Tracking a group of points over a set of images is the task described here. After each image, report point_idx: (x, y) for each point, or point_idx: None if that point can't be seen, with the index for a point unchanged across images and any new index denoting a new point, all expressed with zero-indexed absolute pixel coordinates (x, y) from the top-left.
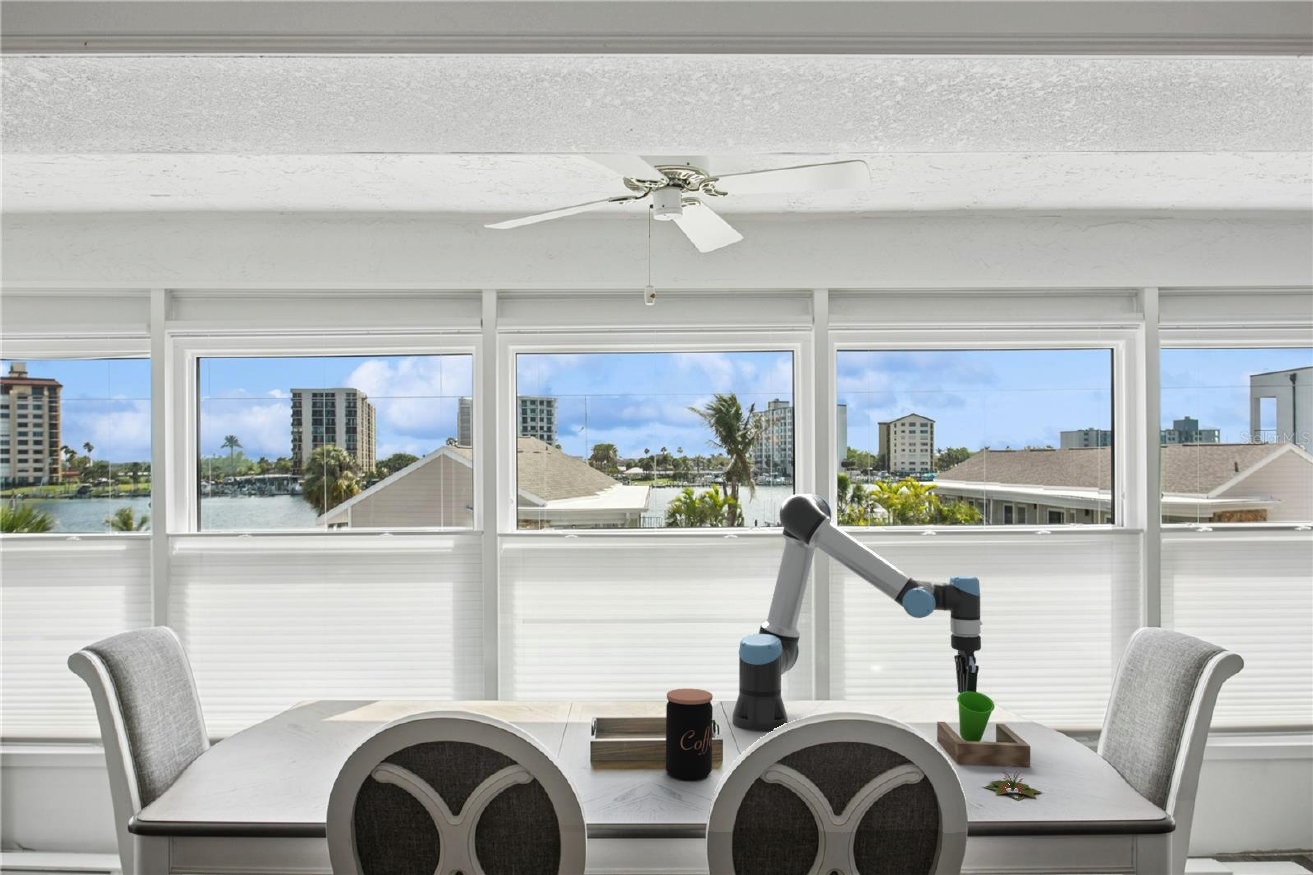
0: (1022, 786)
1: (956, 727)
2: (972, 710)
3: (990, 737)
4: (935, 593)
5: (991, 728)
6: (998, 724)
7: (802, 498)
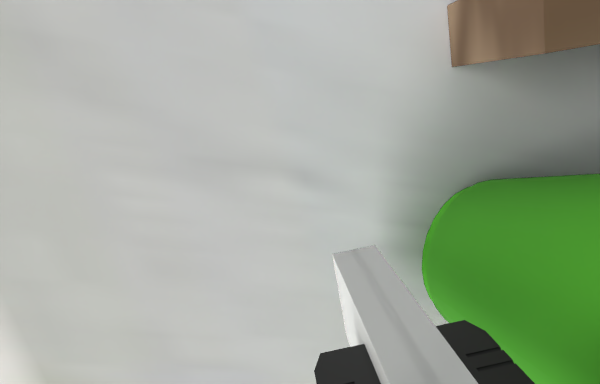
0: None
1: (126, 300)
2: (598, 347)
3: (313, 85)
4: None
5: (42, 34)
6: (575, 30)
7: None
